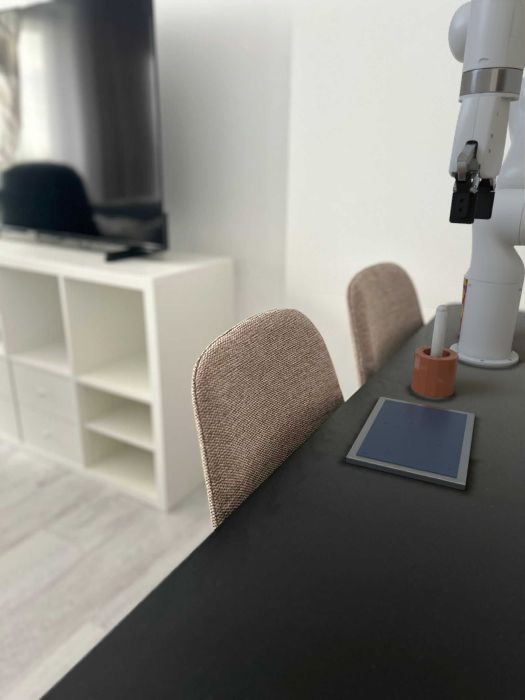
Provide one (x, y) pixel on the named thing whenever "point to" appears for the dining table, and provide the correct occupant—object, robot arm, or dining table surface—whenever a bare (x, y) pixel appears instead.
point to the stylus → (439, 331)
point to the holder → (434, 372)
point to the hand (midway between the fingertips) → (470, 221)
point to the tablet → (416, 442)
